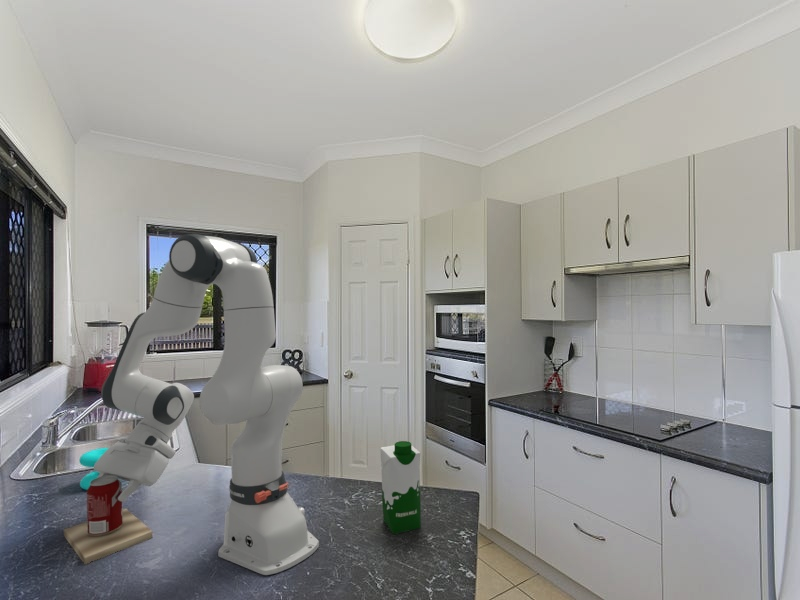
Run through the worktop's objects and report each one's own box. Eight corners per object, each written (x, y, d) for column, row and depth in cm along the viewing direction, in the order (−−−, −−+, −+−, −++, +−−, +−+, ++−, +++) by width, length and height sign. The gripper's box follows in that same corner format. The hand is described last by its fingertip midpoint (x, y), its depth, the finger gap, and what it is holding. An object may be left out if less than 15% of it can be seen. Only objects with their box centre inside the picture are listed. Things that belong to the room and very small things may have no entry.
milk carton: (391, 537, 97) (388, 449, 97) (378, 518, 106) (376, 438, 106) (426, 529, 100) (423, 444, 101) (411, 511, 109) (409, 433, 109)
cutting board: (152, 537, 100) (152, 531, 100) (85, 564, 90) (84, 557, 90) (126, 514, 111) (125, 508, 111) (63, 535, 102) (63, 529, 102)
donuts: (84, 460, 124) (75, 452, 130) (85, 494, 124) (76, 485, 130) (123, 450, 131) (113, 444, 138) (124, 483, 131) (114, 475, 138)
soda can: (106, 539, 97) (105, 486, 97) (80, 537, 98) (78, 485, 98) (129, 523, 103) (128, 474, 103) (104, 522, 104) (103, 473, 104)
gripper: (111, 432, 112) (70, 484, 103) (163, 441, 103) (123, 499, 94) (129, 443, 116) (91, 495, 107) (180, 453, 107) (143, 510, 98)
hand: (106, 497), depth 101 cm, fingers open, 8 cm apart
